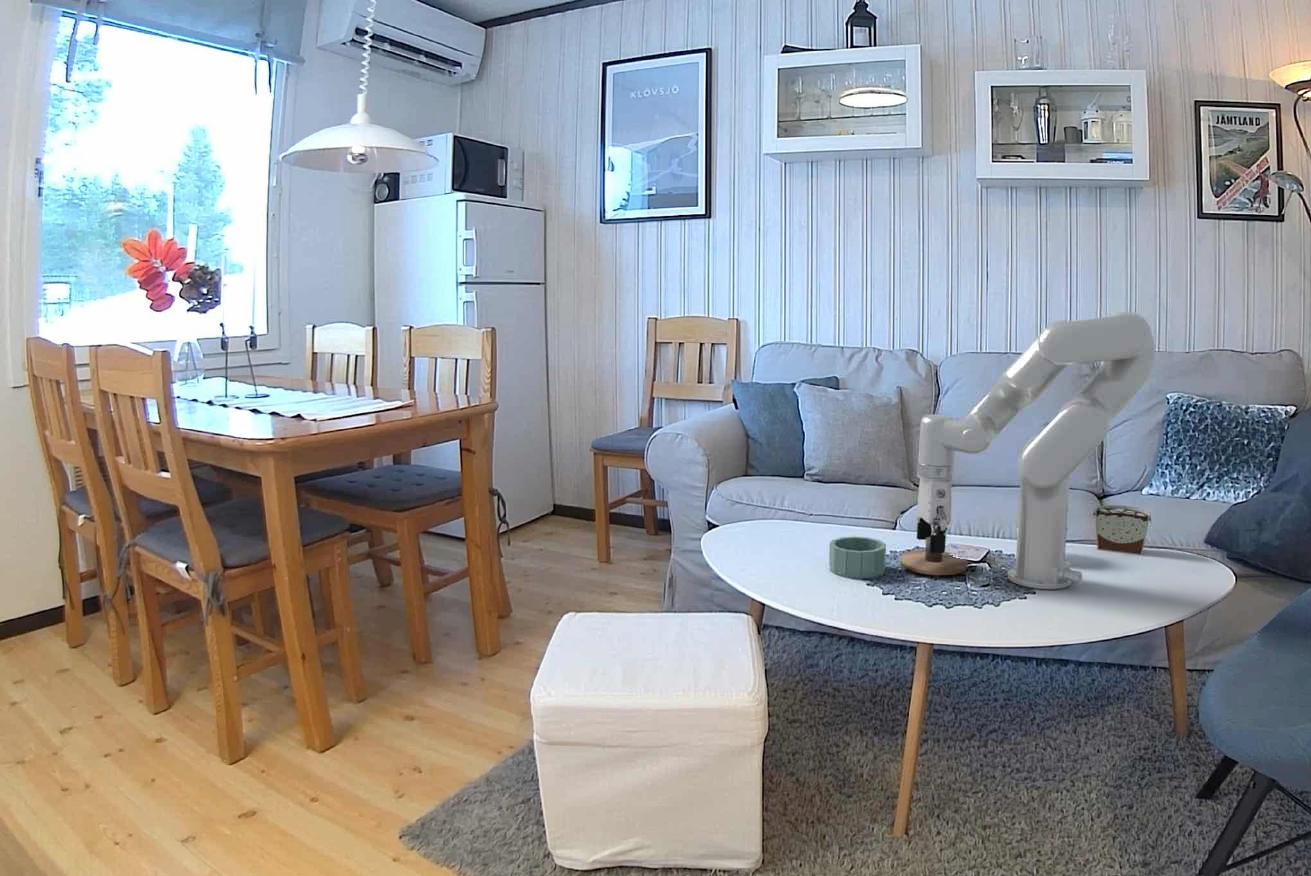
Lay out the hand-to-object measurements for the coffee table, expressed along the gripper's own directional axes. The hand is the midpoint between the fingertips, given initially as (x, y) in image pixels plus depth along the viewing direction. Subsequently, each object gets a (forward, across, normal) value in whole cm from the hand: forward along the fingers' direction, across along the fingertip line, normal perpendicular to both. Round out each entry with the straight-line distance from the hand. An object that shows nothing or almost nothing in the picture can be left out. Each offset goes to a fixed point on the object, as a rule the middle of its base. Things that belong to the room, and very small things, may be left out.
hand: (930, 545), depth 204 cm
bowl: (+6, 0, +16) cm, 17 cm away
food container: (+4, +11, -49) cm, 50 cm away
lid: (+5, 0, -1) cm, 5 cm away
